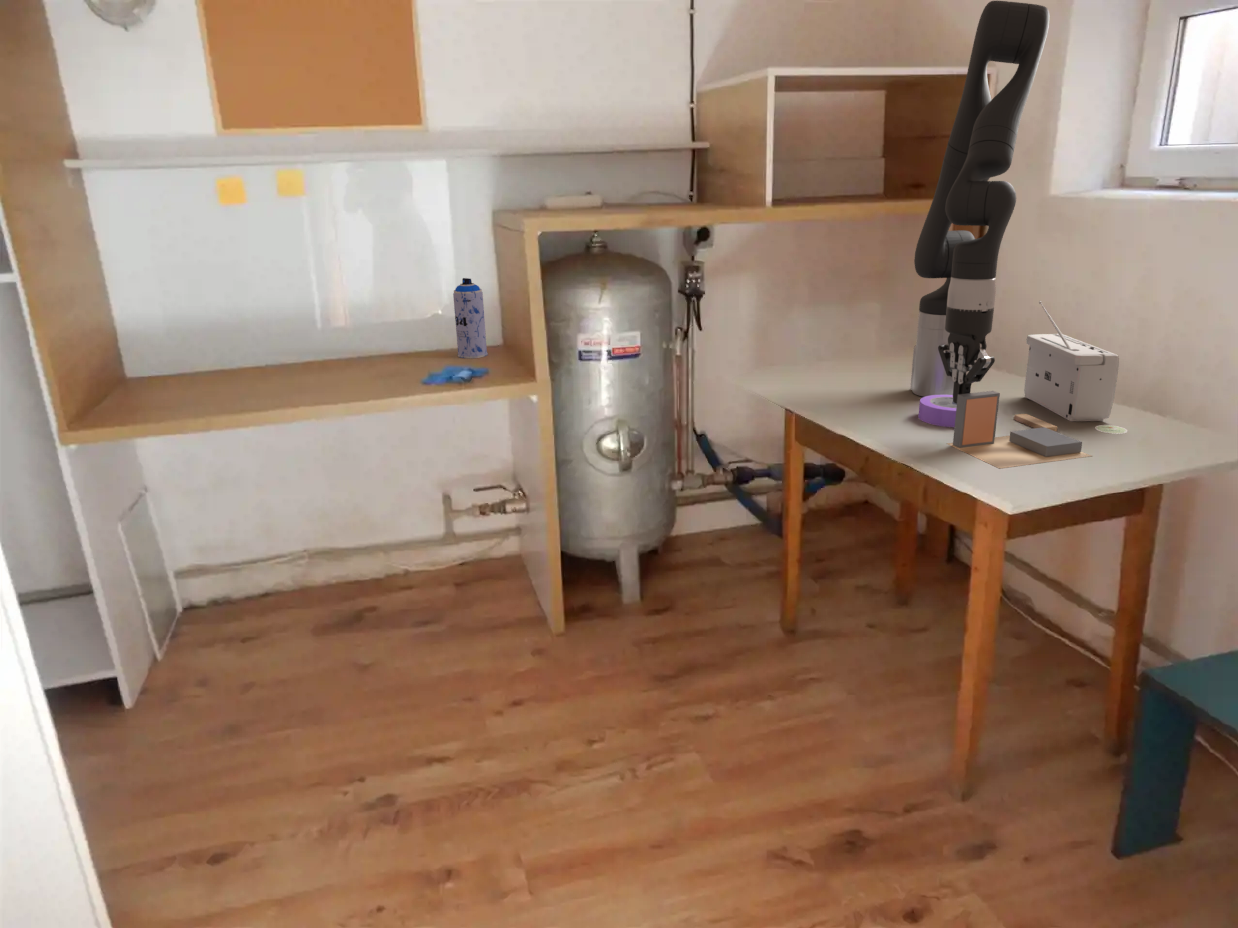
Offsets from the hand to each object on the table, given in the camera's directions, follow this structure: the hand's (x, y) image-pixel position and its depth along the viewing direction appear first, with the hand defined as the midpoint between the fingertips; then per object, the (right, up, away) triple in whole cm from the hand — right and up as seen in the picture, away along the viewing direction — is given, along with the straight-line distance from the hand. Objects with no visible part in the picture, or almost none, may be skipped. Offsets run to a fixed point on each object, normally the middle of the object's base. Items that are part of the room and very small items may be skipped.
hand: (960, 403), depth 160 cm
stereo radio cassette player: (+27, 0, +19) cm, 33 cm away
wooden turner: (+17, -5, +6) cm, 19 cm away
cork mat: (+8, -9, -5) cm, 13 cm away
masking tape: (+3, -3, +14) cm, 14 cm away
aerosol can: (-98, +18, +80) cm, 128 cm away
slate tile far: (+11, -5, -1) cm, 13 cm away
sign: (+27, -7, 0) cm, 28 cm away
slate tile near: (+2, -7, -2) cm, 8 cm away
